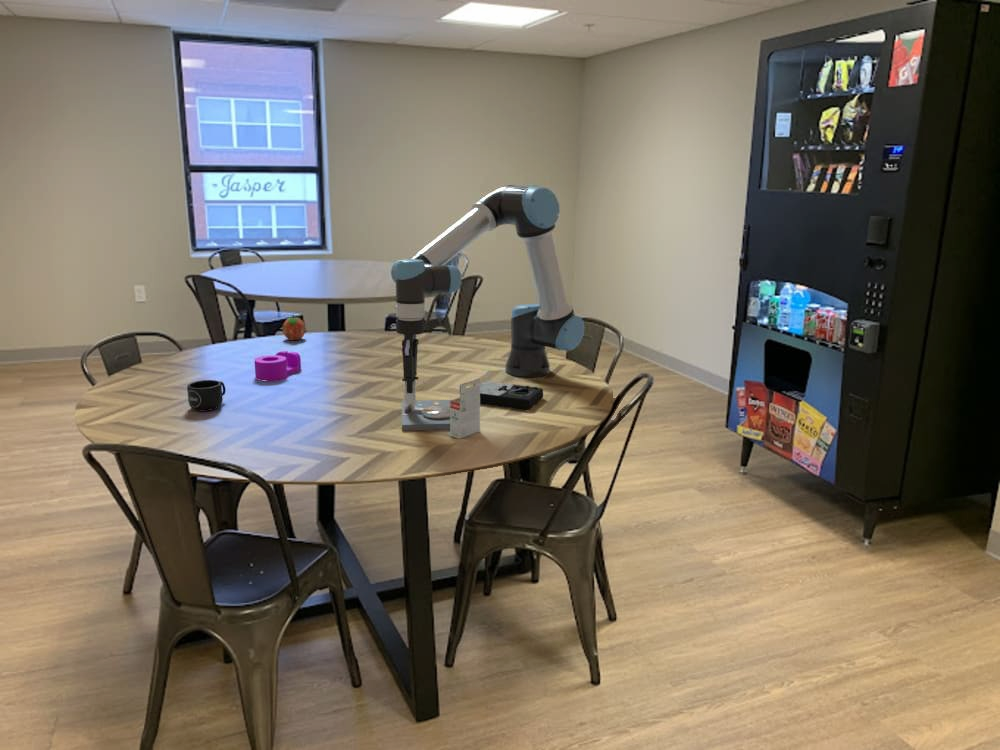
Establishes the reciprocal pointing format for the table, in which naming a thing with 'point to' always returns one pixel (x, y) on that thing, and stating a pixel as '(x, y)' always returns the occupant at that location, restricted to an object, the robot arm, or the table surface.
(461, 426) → the ink box
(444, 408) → the dial
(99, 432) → the table surface
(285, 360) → the tape dispenser
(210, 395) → the mug
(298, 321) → the fruit
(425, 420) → the panel
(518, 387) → the multimeter
